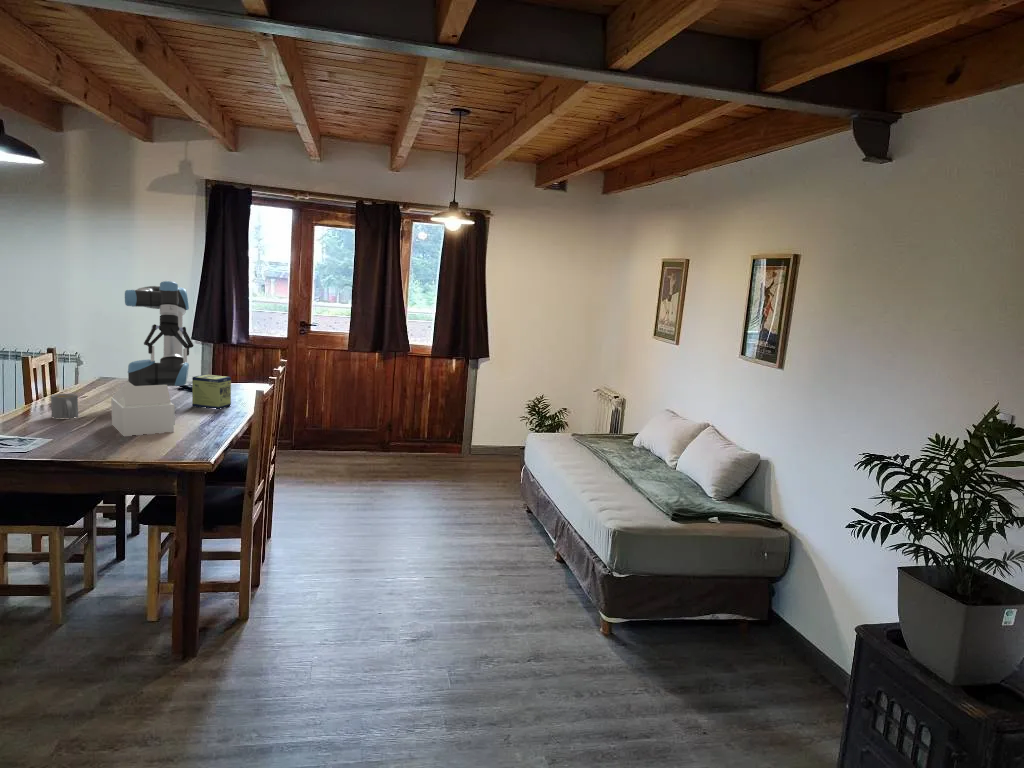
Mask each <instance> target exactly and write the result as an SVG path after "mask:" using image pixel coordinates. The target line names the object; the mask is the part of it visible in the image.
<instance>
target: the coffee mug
mask: <svg viewBox="0 0 1024 768" xmlns="http://www.w3.org/2000/svg"><path fill="white" fill-rule="evenodd" d="M78 399H79V398H78V394H77V393H76V394H75V393H56V394H52V395H50V404H51V409H50V410H51V418H52V417H54V418H74V417H77V418H78V417H79V404H78V403H79V401H78ZM74 419H75V418H74Z"/></svg>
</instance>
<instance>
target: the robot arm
mask: <svg viewBox="0 0 1024 768" xmlns="http://www.w3.org/2000/svg"><path fill="white" fill-rule="evenodd" d="M124 305H125V306H126V307H133V308H134V307H135V308H139V307H141V308H147V309H154V310H155V309H156V310H159V325H157V324H152V325H151V329H150V332H149V333H148V335H147V337H146V339H145V340H144V342H143V346H147V348H148V351H147V352H148V354H149V355H150V359H141V360H134V361H132V362H129V363H128V367H127V368H128V369H127V377H128V379H127V381H128V382H130V383H131V384H133V385H134V386H148V385H167V387H180V386H181V387H182V386H185V385H186V384H187V381H188V378H189V368H190V364H189V362H188V357H189V355H190V349H193V348H194V344H193V341H192V340H191V338H190V335H189V334H188V332H187V327H186V326H183V316H184V315H185V314H186V311H189V308H190V307H189V297H188V293H187V290H186V288H185V287H180V286H179V284H178V283H177V282H175V281H171V280H169V281H167V280H165V281H163V280H162V281H161V282H160V283H159V286H156V285H151V286H144V287H139V288H137V289H127V290H125V291H124ZM157 330H159V331H160V332H159V333H158V334H157V335H156V336H155V337H154V338H153V335H154V334H155V332H156V331H157ZM161 337H163V356H162V357H161V358H160V359H159V362H156V360H155V345H154V344H155V343H156V342H157V341H158V340H159V339H160V338H161ZM183 337H184V338H183ZM152 338H153V339H152ZM151 339H152V340H151ZM150 340H151V342H150Z"/></svg>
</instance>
